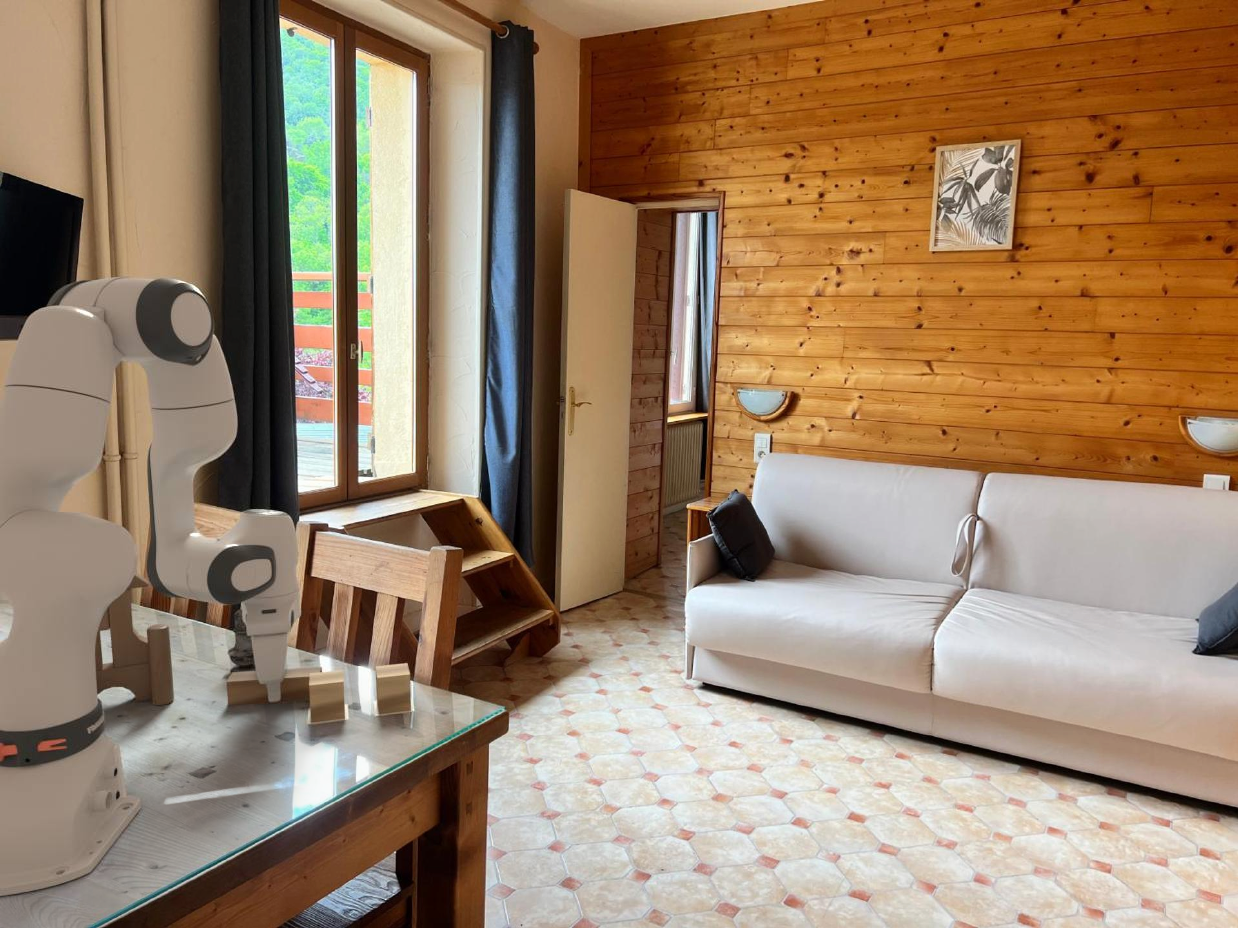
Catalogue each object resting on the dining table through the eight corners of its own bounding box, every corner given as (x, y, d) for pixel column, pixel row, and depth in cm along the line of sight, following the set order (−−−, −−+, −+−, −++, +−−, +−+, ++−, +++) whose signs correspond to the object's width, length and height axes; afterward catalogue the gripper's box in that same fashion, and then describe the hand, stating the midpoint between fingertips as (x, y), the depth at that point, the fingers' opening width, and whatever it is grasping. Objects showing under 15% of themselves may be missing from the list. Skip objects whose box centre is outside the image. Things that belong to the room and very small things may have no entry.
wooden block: (319, 705, 144) (318, 675, 144) (228, 711, 142) (226, 681, 141) (323, 695, 148) (321, 666, 148) (234, 701, 146) (232, 672, 145)
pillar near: (345, 718, 137) (343, 681, 136) (311, 722, 136) (309, 685, 135) (344, 705, 142) (343, 669, 141) (311, 709, 140) (309, 673, 140)
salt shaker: (269, 668, 159) (266, 604, 158) (237, 677, 155) (233, 611, 153) (255, 660, 163) (251, 597, 161) (222, 669, 159) (218, 604, 157)
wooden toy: (63, 723, 137) (48, 566, 133) (65, 707, 142) (51, 556, 139) (174, 703, 144) (164, 554, 141) (172, 689, 150) (161, 545, 146)
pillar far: (411, 710, 140) (409, 674, 139) (378, 714, 139) (377, 677, 138) (408, 698, 145) (407, 662, 144) (376, 701, 143) (375, 666, 143)
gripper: (255, 591, 152) (260, 668, 154) (245, 629, 132) (250, 716, 134) (294, 587, 153) (298, 664, 156) (290, 624, 134) (294, 711, 136)
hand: (276, 688), depth 145 cm, fingers open, 8 cm apart
